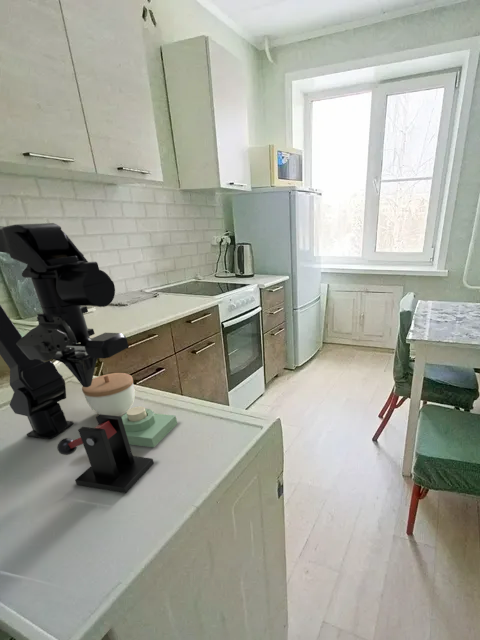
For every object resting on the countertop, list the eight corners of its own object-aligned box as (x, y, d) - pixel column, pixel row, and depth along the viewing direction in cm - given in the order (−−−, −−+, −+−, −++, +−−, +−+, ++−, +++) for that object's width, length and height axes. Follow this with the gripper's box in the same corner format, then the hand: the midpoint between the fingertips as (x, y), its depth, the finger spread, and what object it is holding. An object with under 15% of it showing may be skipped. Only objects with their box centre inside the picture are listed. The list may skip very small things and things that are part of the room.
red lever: (60, 460, 63) (49, 446, 62) (73, 450, 66) (63, 437, 65) (107, 442, 58) (96, 427, 57) (119, 432, 61) (109, 417, 60)
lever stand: (76, 485, 61) (56, 433, 56) (108, 457, 68) (92, 408, 63) (126, 493, 59) (108, 439, 54) (154, 463, 65) (140, 413, 61)
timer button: (124, 421, 73) (122, 414, 72) (135, 412, 76) (133, 405, 75) (139, 423, 72) (137, 415, 71) (150, 414, 75) (148, 407, 74)
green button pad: (103, 441, 73) (98, 424, 71) (131, 419, 81) (126, 403, 79) (153, 447, 70) (149, 430, 68) (177, 423, 78) (174, 408, 76)
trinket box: (122, 424, 79) (111, 387, 75) (80, 421, 81) (68, 384, 77) (148, 401, 88) (140, 367, 84) (110, 399, 90) (100, 365, 86)
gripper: (-29, 315, 55) (9, 402, 62) (67, 317, 51) (98, 411, 58) (33, 299, 65) (60, 376, 72) (119, 300, 60) (140, 382, 67)
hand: (87, 386), depth 67 cm, fingers closed
